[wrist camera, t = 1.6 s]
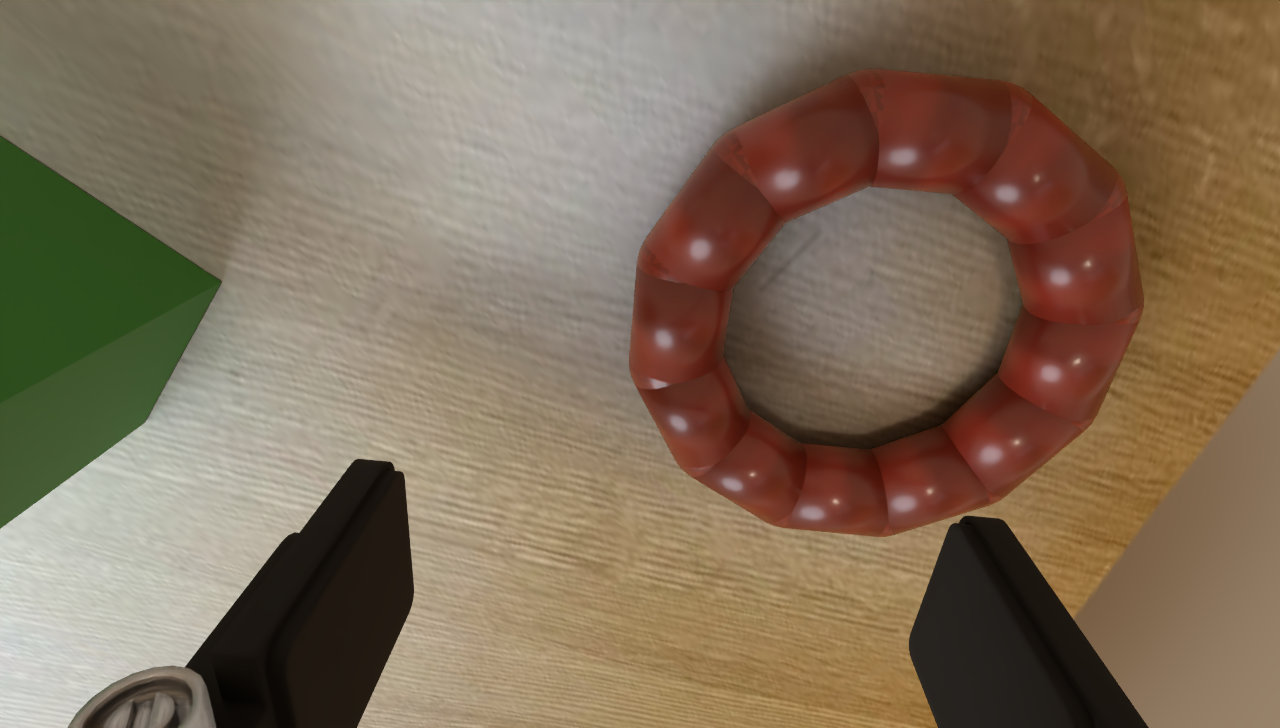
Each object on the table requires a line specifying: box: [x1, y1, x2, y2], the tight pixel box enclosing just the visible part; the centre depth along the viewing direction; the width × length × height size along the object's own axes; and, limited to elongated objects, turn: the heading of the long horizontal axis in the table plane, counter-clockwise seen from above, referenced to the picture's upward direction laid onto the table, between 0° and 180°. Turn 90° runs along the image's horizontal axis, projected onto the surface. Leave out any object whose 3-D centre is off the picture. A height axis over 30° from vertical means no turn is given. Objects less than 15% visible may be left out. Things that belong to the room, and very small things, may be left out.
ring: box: [629, 69, 1144, 537], centre depth 21 cm, size 15×15×3 cm
